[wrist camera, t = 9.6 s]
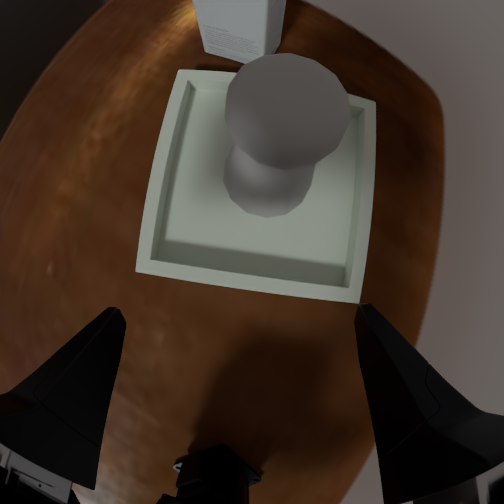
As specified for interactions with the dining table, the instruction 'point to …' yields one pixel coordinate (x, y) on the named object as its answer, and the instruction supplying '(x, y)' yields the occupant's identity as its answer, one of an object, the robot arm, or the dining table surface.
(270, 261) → the tray
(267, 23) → the skincare box
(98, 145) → the dining table surface
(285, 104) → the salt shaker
